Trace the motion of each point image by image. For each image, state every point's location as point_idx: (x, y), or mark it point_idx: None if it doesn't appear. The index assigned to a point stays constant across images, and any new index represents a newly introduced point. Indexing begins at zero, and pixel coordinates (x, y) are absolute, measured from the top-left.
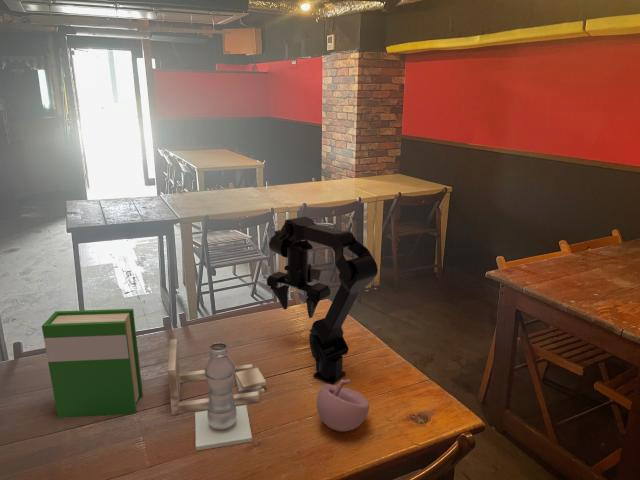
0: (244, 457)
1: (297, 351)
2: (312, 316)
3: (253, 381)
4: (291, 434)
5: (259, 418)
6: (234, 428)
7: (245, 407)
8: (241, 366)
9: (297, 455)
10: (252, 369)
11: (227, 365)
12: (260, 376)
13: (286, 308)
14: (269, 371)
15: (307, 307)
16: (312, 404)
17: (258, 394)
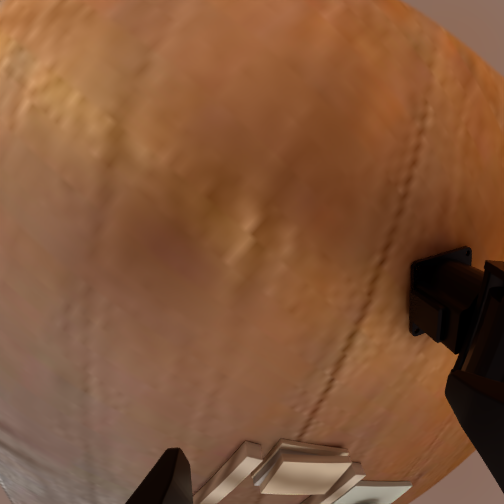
0: (416, 488)
1: (253, 276)
2: (461, 372)
3: (327, 479)
4: (451, 439)
5: (390, 469)
6: (379, 500)
7: (359, 487)
8: (237, 473)
9: None
10: (282, 470)
11: None
12: (326, 467)
13: (182, 454)
14: (286, 414)
15: (499, 479)
16: None
17: (364, 475)
